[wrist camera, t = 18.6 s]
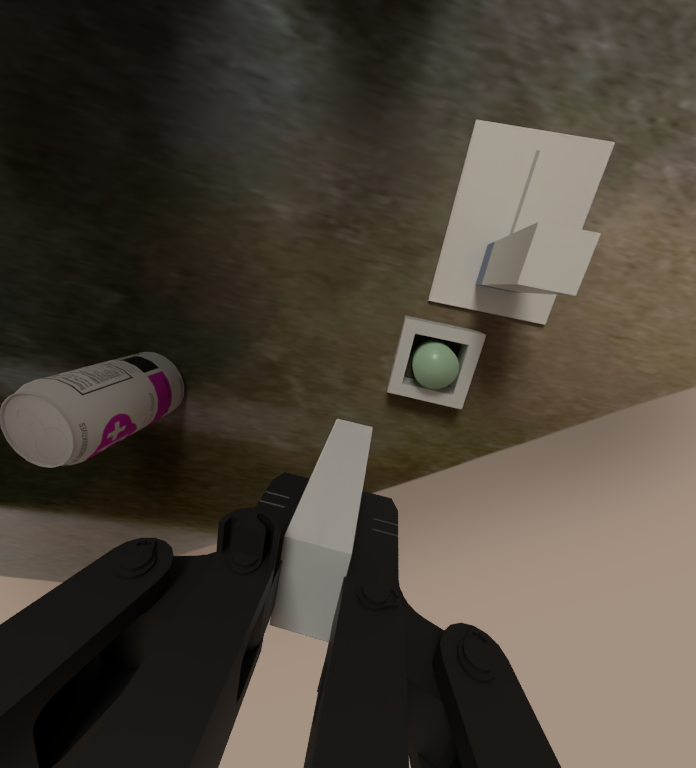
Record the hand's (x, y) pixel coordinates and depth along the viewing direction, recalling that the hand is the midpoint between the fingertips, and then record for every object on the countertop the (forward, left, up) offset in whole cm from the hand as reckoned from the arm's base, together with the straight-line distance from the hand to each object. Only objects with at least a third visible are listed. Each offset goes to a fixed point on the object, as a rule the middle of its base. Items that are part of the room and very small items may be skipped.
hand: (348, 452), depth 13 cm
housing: (0, +6, -24) cm, 25 cm away
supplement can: (+11, -27, -25) cm, 38 cm away
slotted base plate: (-14, +10, -24) cm, 30 cm away
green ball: (0, +6, -24) cm, 25 cm away
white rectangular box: (-10, +10, -24) cm, 28 cm away
